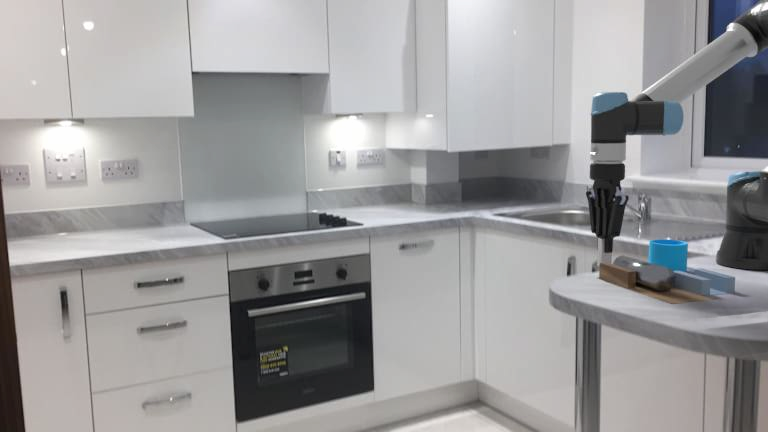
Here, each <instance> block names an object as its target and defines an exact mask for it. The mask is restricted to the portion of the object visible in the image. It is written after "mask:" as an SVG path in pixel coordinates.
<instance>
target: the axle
mask: <svg viewBox="0 0 768 432" xmlns="http://www.w3.org/2000/svg"><path fill="white" fill-rule="evenodd" d="M612 264H614V265H617V266H620V267H624V268H627V269H630V270H633V271H636V282H635V283H636V284H639V285H642V286H645V287H648V288H651V289H654V290H657V291H660V292H667V291H669V290H671V289H672V288H673V286H674V284H675V280H676V277H675V273H674V271H673V270H672V269H670V268H667V267H663V266H660V265H656V264H653V263H649V261H645V260H641V259H638V258H635V257H631V256H627V255H619V256H617V257H616V258H615V259H614V260H613V261H612Z"/></svg>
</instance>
